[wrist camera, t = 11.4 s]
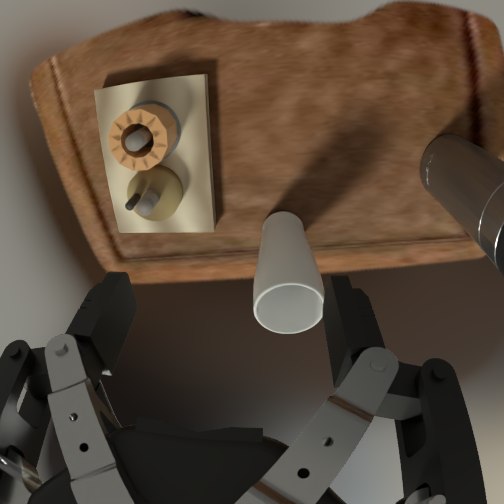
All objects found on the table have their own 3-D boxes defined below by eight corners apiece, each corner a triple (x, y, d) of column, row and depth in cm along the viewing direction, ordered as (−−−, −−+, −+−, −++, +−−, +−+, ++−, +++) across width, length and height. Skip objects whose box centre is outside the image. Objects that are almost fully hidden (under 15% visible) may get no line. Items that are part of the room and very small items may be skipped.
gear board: (207, 73, 30) (194, 76, 24) (216, 224, 40) (208, 255, 35) (102, 88, 30) (71, 96, 24) (124, 225, 41) (104, 254, 35)
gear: (175, 101, 30) (164, 106, 26) (179, 156, 33) (170, 168, 30) (121, 108, 30) (105, 114, 26) (127, 160, 33) (113, 172, 30)
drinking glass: (319, 224, 40) (342, 305, 28) (285, 258, 43) (292, 343, 31) (279, 193, 38) (286, 268, 25) (245, 231, 41) (237, 314, 28)
